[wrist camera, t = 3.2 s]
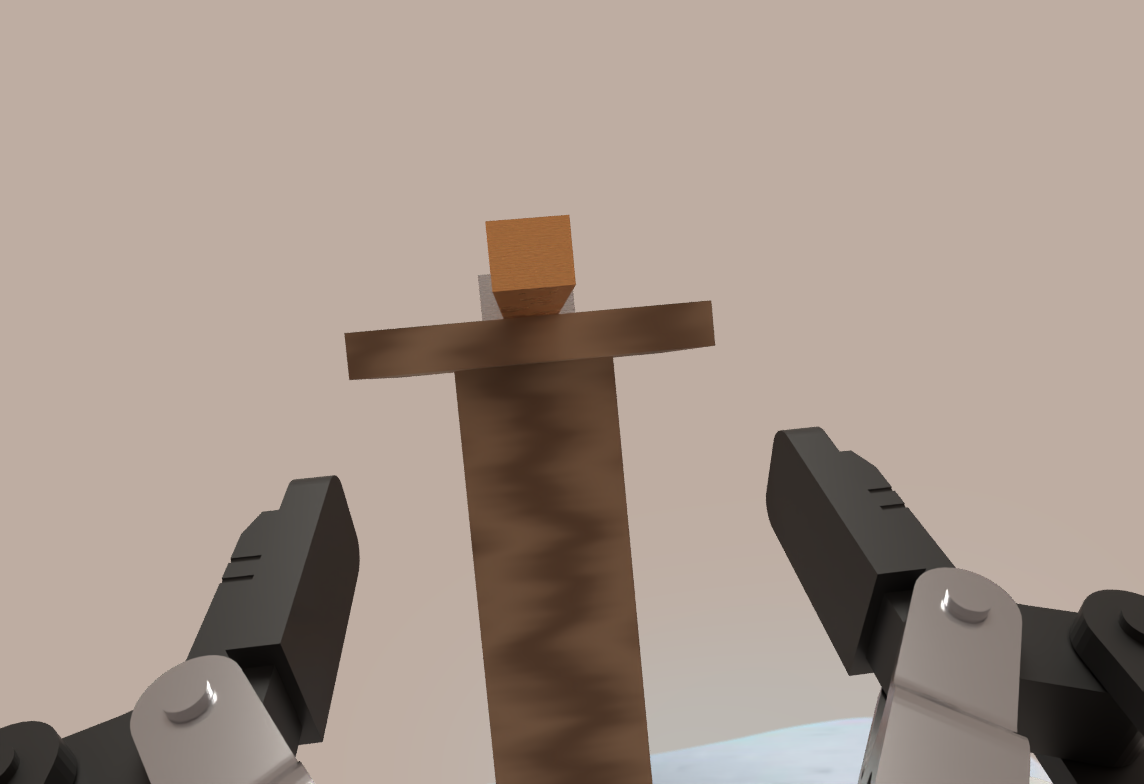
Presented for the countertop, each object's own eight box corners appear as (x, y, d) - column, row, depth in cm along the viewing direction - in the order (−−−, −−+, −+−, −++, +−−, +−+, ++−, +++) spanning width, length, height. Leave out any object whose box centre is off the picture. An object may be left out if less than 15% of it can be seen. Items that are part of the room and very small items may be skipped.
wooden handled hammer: (446, 295, 19) (436, 189, 19) (488, 336, 41) (483, 287, 41) (620, 280, 19) (610, 176, 19) (569, 328, 41) (565, 280, 41)
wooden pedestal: (421, 1050, 30) (344, 333, 29) (451, 856, 42) (397, 344, 41) (771, 994, 31) (711, 300, 30) (702, 820, 43) (657, 320, 42)
